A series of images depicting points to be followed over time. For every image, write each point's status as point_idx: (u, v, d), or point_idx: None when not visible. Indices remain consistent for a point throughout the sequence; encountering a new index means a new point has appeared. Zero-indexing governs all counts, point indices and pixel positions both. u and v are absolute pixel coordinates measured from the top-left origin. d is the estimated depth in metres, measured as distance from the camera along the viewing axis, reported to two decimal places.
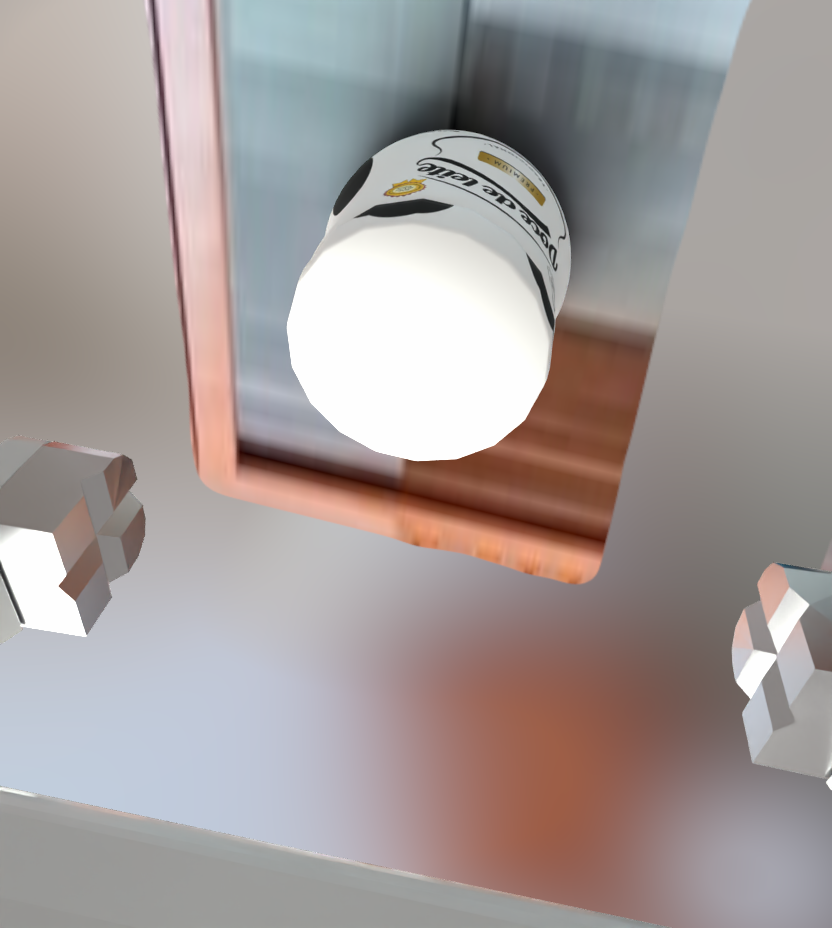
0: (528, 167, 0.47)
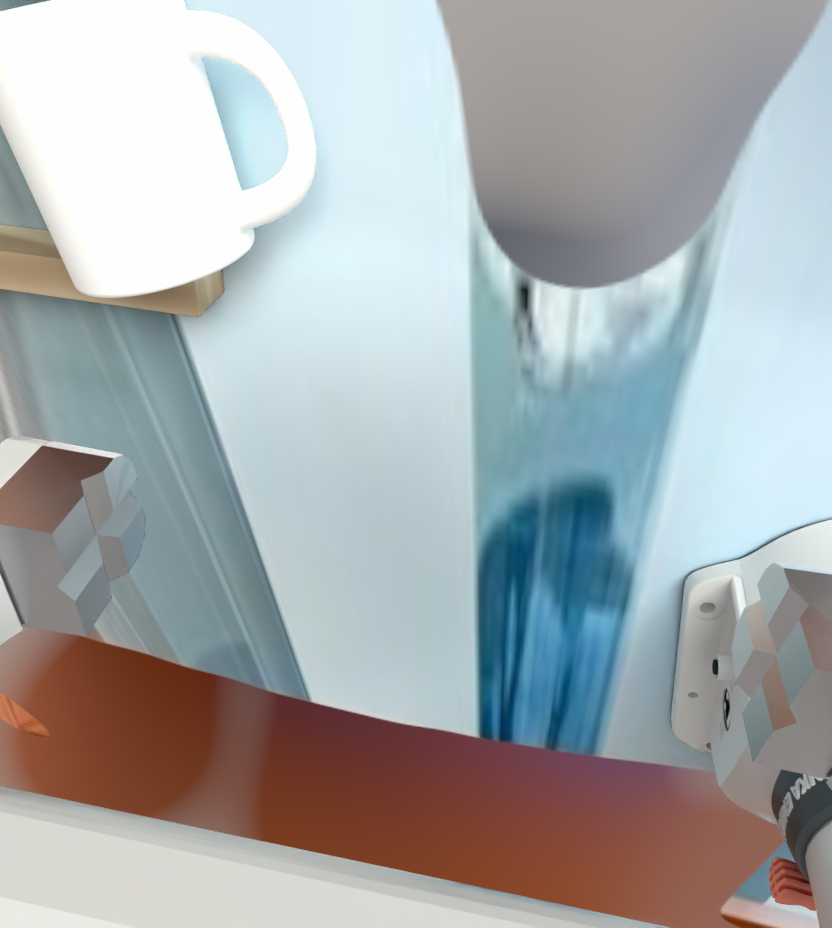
0: None
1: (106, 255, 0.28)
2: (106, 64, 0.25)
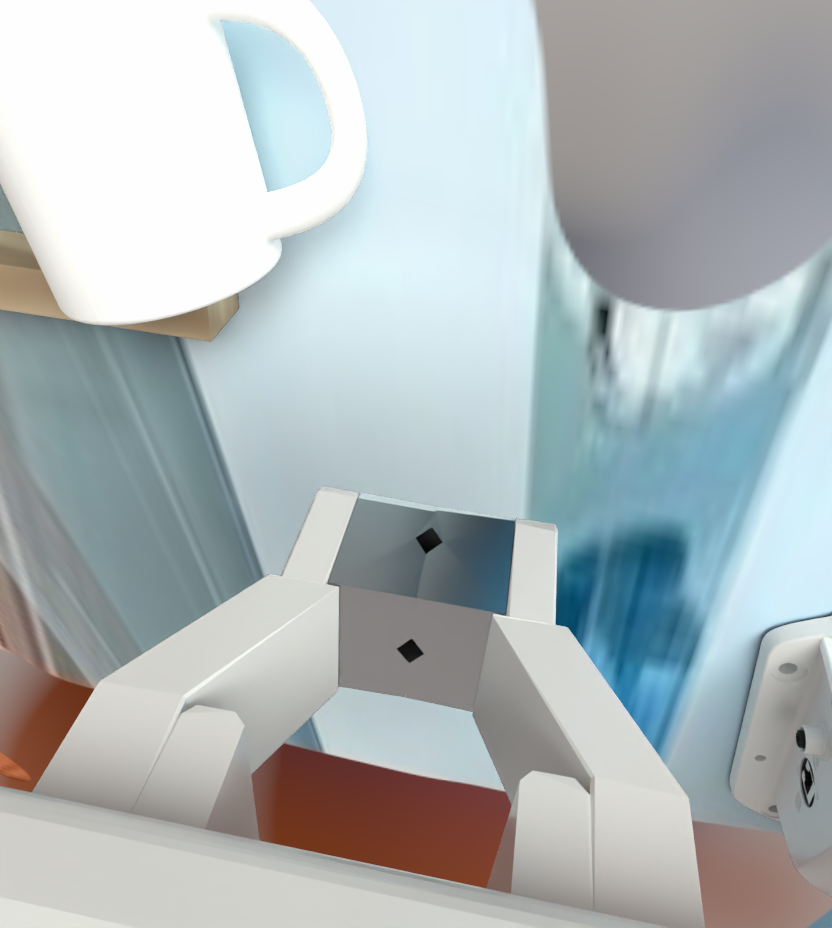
0: None
1: (100, 273, 0.22)
2: (102, 25, 0.19)
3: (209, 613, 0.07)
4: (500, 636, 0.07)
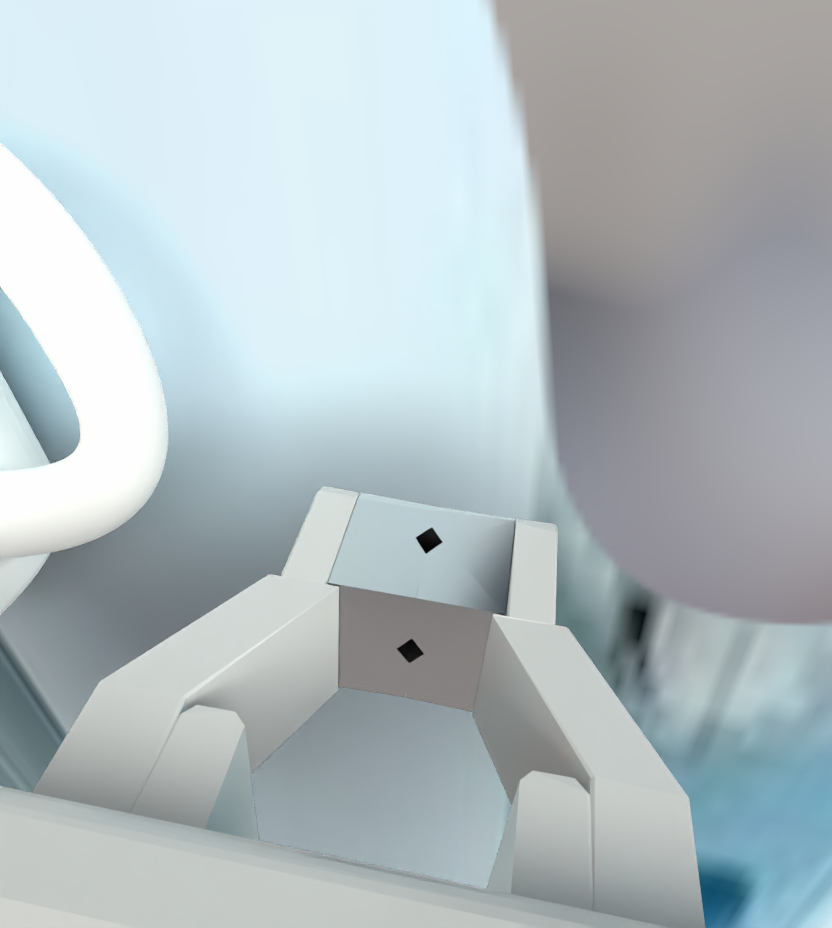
0: None
1: None
2: None
3: (209, 613, 0.07)
4: (500, 636, 0.07)
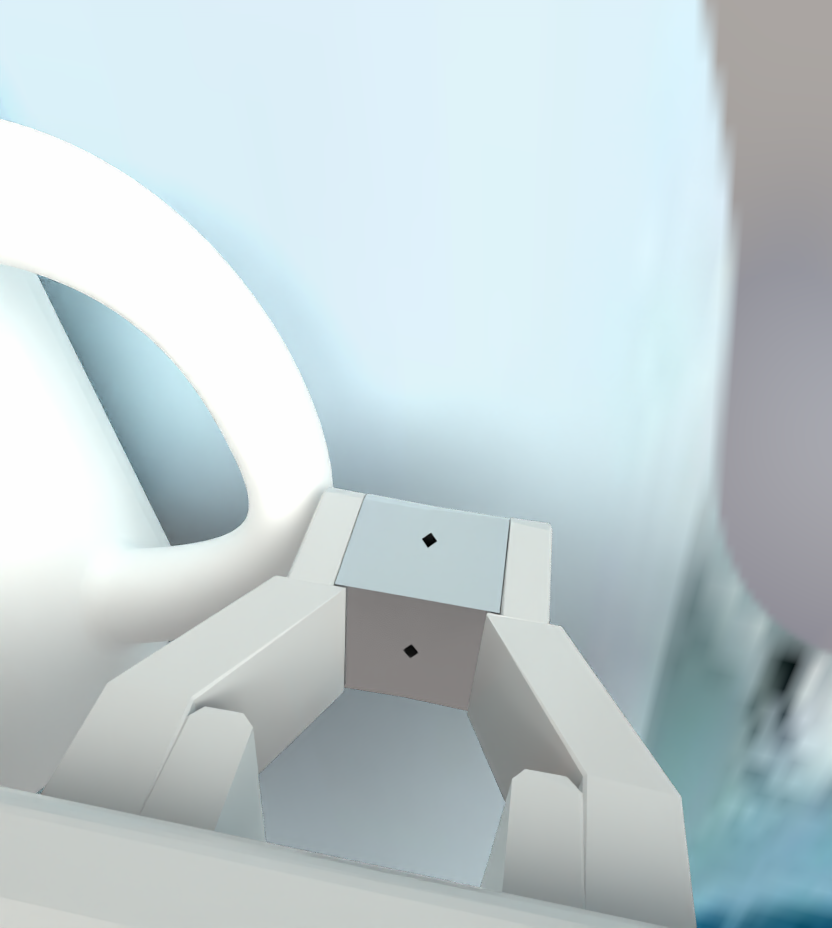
0: None
1: None
2: None
3: (216, 614, 0.07)
4: (494, 635, 0.07)
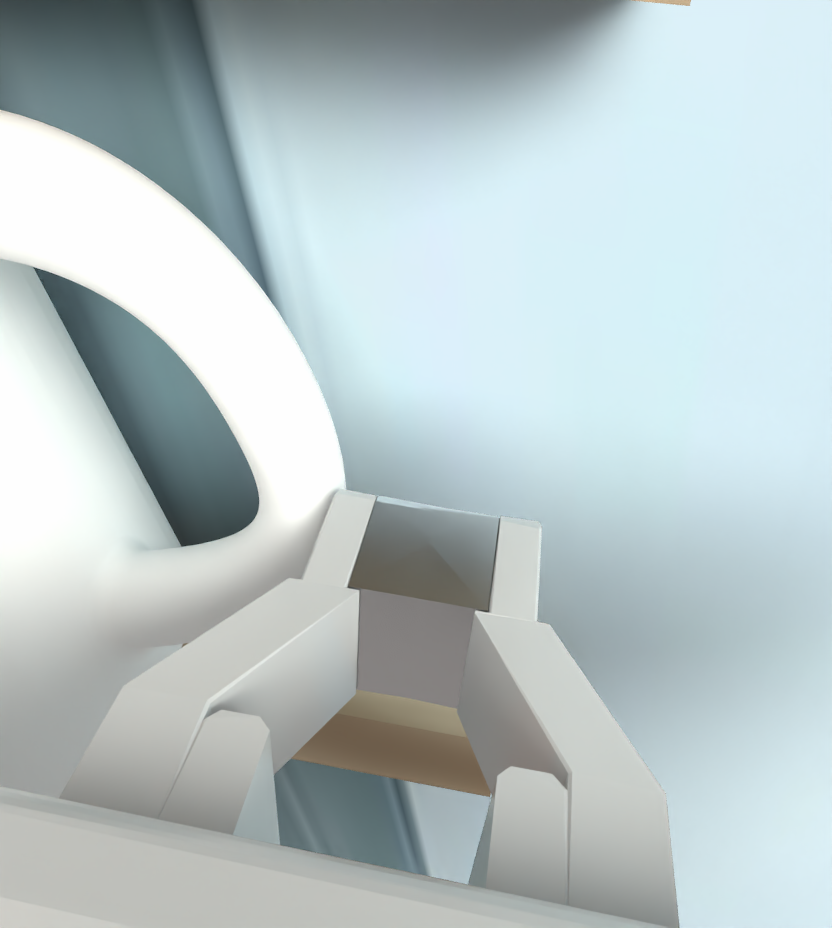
0: None
1: None
2: None
3: (230, 617, 0.07)
4: (482, 633, 0.07)
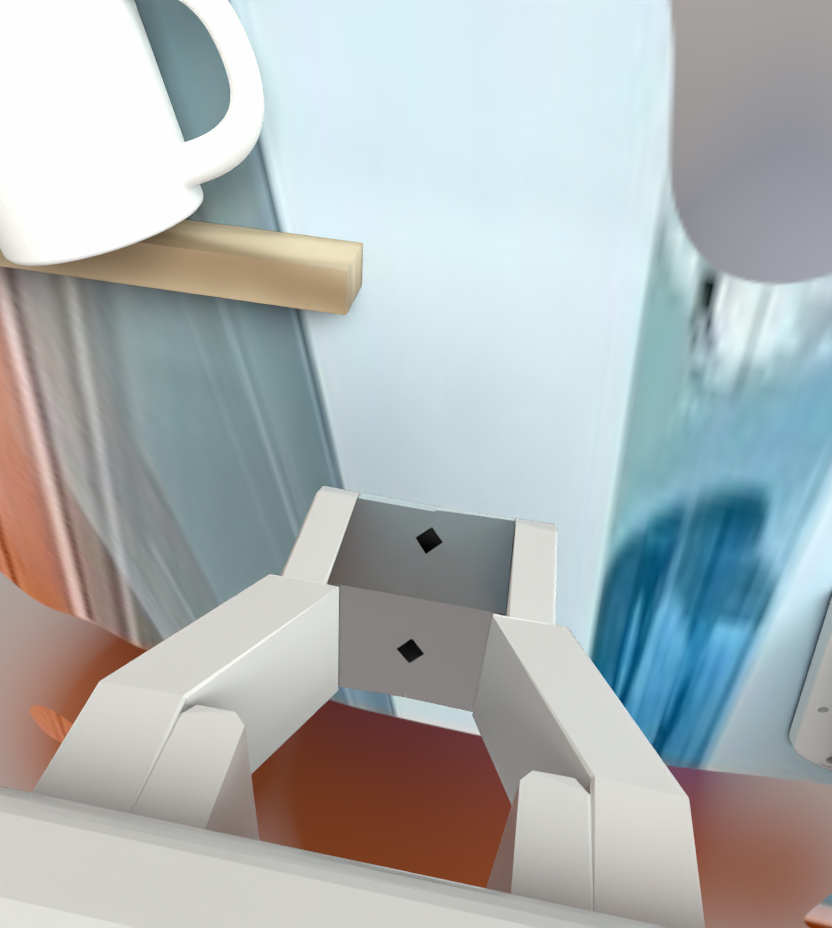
0: None
1: (32, 216, 0.25)
2: None
3: (209, 613, 0.07)
4: (500, 636, 0.07)
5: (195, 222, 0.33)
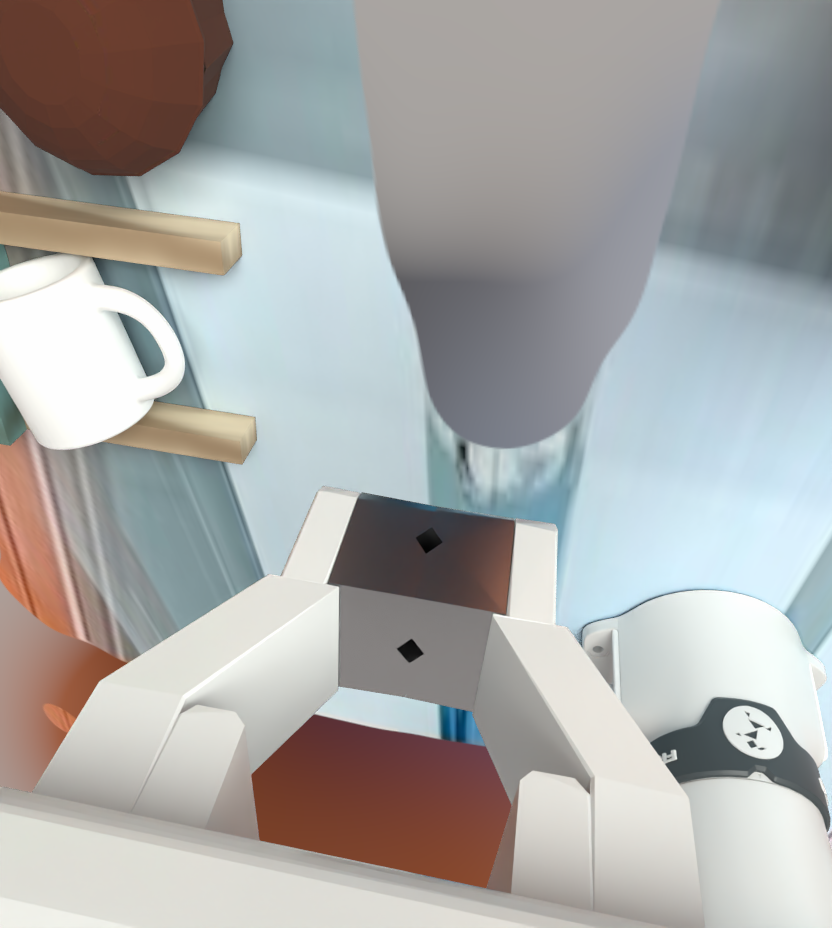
0: None
1: (53, 427, 0.46)
2: (47, 328, 0.42)
3: (209, 613, 0.07)
4: (500, 636, 0.07)
5: None
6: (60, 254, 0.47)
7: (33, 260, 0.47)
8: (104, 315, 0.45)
